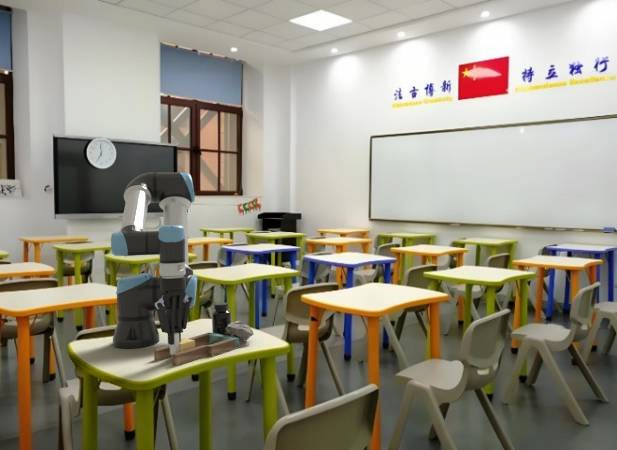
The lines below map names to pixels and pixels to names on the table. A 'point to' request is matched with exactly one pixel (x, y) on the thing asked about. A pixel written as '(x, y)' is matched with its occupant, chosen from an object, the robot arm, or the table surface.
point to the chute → (199, 348)
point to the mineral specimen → (239, 331)
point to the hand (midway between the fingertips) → (174, 354)
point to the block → (186, 344)
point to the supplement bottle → (221, 318)
